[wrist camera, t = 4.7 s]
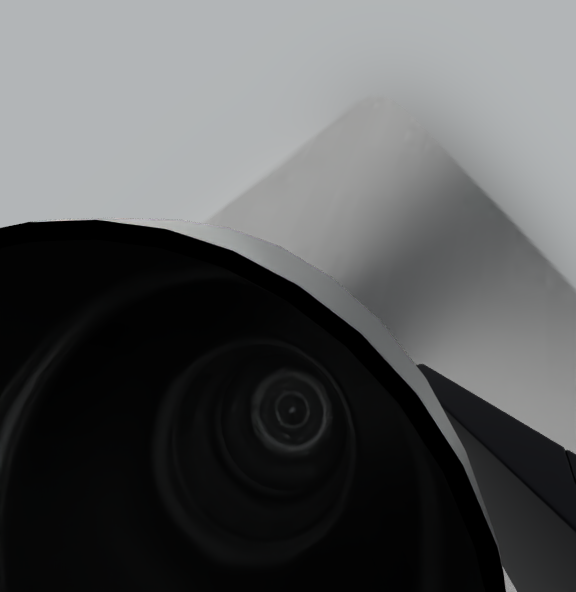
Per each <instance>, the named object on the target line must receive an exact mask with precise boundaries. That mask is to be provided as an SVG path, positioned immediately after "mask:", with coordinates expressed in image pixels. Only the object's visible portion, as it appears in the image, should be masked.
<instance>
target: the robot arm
mask: <svg viewBox="0 0 576 592" xmlns="http://www.w3.org/2000/svg"><path fill="white" fill-rule="evenodd" d="M416 366H417V367H418V369H419V370H420V371H421V372H422V374H423V375H424V376H425V378H426V379H427V381H428V383H429V385H430V387H431V388H432V390H433V392H434V394H435V396H436V398H437V399H438V401H439V403H440V405H441V407H442V409H443V410H444V412H445V414H446V416H447V418H448V420H449V421H450V423H451V425H452V427H453V429H454V431H455V432H456V434H457V436H458V438H459V440H460V442H461V443H462V445H463V447H464V449H465V451H466V453H467V456H468V459H469V462H470V465H471V468H472V470H473V473H474V476H475V479H476V482H477V485H478V487H479V490H480V493H481V496H482V499H483V502H484V505H485V507H486V510H487V513H488V516H489V519H490V522H491V524H492V527H493V530H494V533H495V536H496V539H497V542H498V546H499V552H500V557H501V563H502V566H503V568H504V569H505V571H506V573H507V575H508V576H509V578H510V580H511V582H512V583H513V585H514V587H515V588H516V590H517V592H576V454H574V453H573V452H571V451H569V450H566V451H565V449H564V447H562V446H561V445H559V444H557V443H555V442H554V441H552V440H550V439H549V438H547V437H545V436H544V435H542V434H540V433H539V432H537V431H535V430H534V429H532V428H530V427H529V426H527V425H525V424H523V423H522V422H520V421H518V420H517V419H515V418H513V417H512V416H510V415H508V414H507V413H505V412H503V411H502V410H500V409H498V408H497V407H495V406H493V405H491V404H490V403H488V402H486V401H485V400H483V399H481V398H480V397H478V396H476V395H475V394H473V393H471V392H470V391H468V390H466V389H465V388H463V387H461V386H459V385H458V384H456V383H454V382H453V381H451V380H449V379H448V378H446V377H444V376H443V375H441V374H439V373H438V372H436V371H434V370H433V369H431V368H429V367H427V366H426V365H424V364H419V365H416Z"/></svg>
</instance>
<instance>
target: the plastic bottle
mask: <svg viewBox="0 0 576 592" xmlns="http://www.w3.org/2000/svg"><path fill="white" fill-rule="evenodd" d="M0 592H506V589H505V581H504V574H503V568H502V563H501V557H500V552H499V546H498V542H497V539H496V536H495V533H494V530H493V527H492V524H491V522H490V519H489V516H488V513H487V510H486V507H485V505H484V502H483V499H482V496H481V493H480V490H479V487H478V485H477V482H476V479H475V476H474V473H473V470H472V468H471V465H470V462H469V459H468V456H467V453H466V451H465V449H464V447H463V445H462V443H461V442H460V440H459V438H458V436H457V434H456V432H455V431H454V429H453V427H452V425H451V423H450V421H449V420H448V418H447V416H446V414H445V412H444V410H443V409H442V407H441V405H440V403H439V401H438V399H437V398H436V396H435V394H434V392H433V390H432V388H431V387H430V385H429V383H428V381H427V379H426V378H425V376H424V375H423V374H422V372H421V371H420V370H419V369H418V367H417V366H416V365H415V364H414V362H413V361H412V360H411V358H410V357H409V356H408V355H407V353H406V352H405V351H404V350H403V348H402V347H401V346H400V345H399V343H398V342H397V341H396V340H395V338H394V337H393V336H392V334H391V333H390V332H389V331H388V329H387V328H386V327H385V326H384V324H383V323H382V322H381V321H380V319H378V318H377V317H376V316H375V315H374V314H373V313H372V312H371V311H369V310H368V309H367V308H366V307H365V306H364V305H363V304H362V303H360V302H359V301H358V300H357V299H356V298H355V297H354V296H352V295H351V294H350V293H349V292H348V291H347V290H346V289H345V288H343V287H342V286H341V285H340V284H339V283H338V282H337V281H336V280H334V279H333V278H332V277H331V276H329V275H328V274H326V273H324V272H323V271H321V270H319V269H318V268H316V267H314V266H313V265H311V264H309V263H308V262H306V261H304V260H303V259H301V258H299V257H298V256H296V255H294V254H293V253H291V252H289V251H288V250H286V249H284V248H283V247H281V246H278V245H276V244H273V243H270V242H267V241H265V240H262V239H259V238H256V237H254V236H251V235H248V234H245V233H243V232H240V231H237V230H234V229H232V228H228V227H221V226H215V225H209V224H203V223H196V222H190V221H184V220H169V219H165V220H164V219H124V218H97V219H61V220H44V221H35V222H27V223H23V224H18V225H13V226H8V227H3V228H0Z"/></svg>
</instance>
